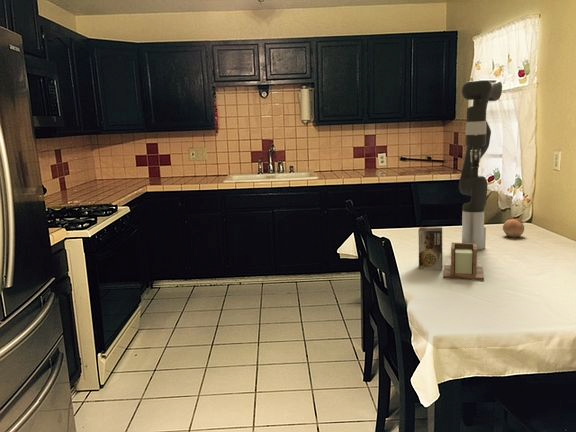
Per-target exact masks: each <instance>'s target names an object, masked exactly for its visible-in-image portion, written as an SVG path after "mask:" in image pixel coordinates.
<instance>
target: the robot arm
mask: <svg viewBox="0 0 576 432" xmlns="http://www.w3.org/2000/svg"><path fill="white" fill-rule="evenodd" d="M502 92H503V84H502V81H501V80H499V79H496V78H495V79H493V78H492V79H490V78H489V79H487V78H486V79H485V78H484V79H483V78H482V79H477V80H469V81H466V82H465V83H464V84H463V86H462V88H461V95H462V97H463V98H464V99H465V100H466V101H471V100H473V101H472V105H471V106H468V107H467V109H466V126H465V144H464V145H465V146H466V149H465V156H464V160H463V161H464V162H463V166H462V170H461V174H460V178H459V182H458V189H459V192H460V194H461V195H464V196H470V197H471V198H470V201H469V202H465V203H463V204H462V211H461V212H462V216H461V218H462V219H461V223H462V225H461V228H462V229H461V243H476V245H477V251H481V250H483V249H485V248H486V241H487V240H486V238H487V237H486V236H487V234H486V233H487V230H486V229H487V228H486V226H485V208H486V204H487V199H488V181H487V178H486V177H485V176H484V175H479V167H480V162H481V159H482V158H483V156H484V155H485V154H486V152H487V151H488V149H489V146H490V142H491V135H492V130H491V127H490V125H489V122H488V120H487V108H488V104H489V103H488V102H496V101H499V100H500V98H501V96H502Z"/></svg>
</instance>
